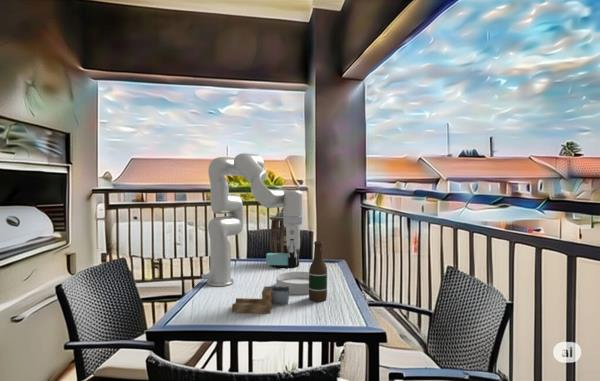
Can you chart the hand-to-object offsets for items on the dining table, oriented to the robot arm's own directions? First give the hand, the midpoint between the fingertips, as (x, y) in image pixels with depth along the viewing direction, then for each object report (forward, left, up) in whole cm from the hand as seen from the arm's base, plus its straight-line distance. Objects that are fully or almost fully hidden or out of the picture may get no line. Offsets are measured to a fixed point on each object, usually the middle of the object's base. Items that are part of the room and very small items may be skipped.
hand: (292, 265), depth 152 cm
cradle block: (-6, 0, -15) cm, 16 cm away
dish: (+2, +21, -15) cm, 26 cm away
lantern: (-8, +66, -15) cm, 68 cm away
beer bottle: (+10, +4, -15) cm, 19 cm away
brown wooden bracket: (-15, -10, -15) cm, 23 cm away
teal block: (-4, 0, +3) cm, 5 cm away
